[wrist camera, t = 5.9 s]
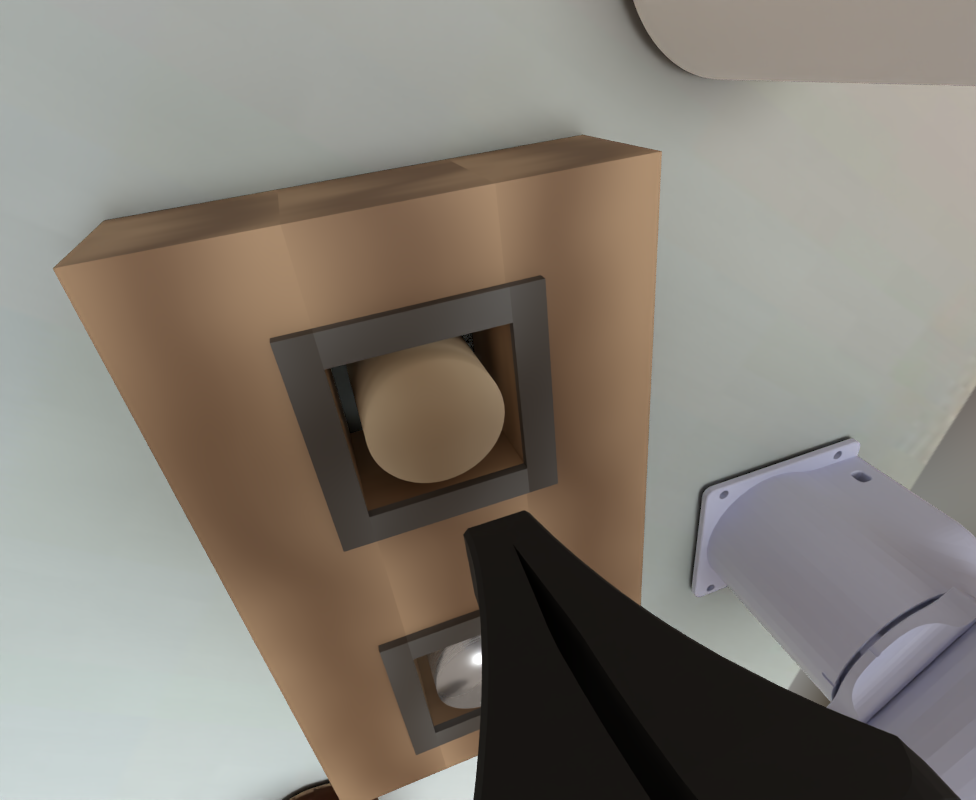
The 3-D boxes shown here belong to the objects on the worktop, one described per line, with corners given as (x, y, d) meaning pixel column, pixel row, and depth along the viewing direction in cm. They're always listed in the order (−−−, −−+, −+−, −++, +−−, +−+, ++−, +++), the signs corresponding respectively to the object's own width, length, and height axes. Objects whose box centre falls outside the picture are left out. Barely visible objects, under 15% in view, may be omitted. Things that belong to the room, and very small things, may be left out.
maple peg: (452, 290, 19) (497, 343, 15) (468, 391, 21) (510, 460, 17) (332, 317, 18) (349, 381, 14) (361, 420, 20) (382, 499, 17)
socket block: (582, 134, 18) (668, 152, 14) (593, 616, 31) (640, 694, 27) (103, 220, 15) (48, 272, 11) (335, 714, 28) (346, 818, 24)
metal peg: (491, 543, 25) (529, 624, 22) (500, 602, 27) (537, 684, 24) (404, 573, 25) (428, 662, 21) (420, 631, 27) (445, 721, 23)
